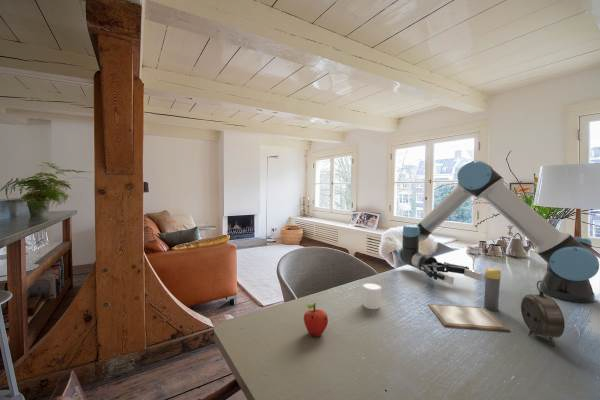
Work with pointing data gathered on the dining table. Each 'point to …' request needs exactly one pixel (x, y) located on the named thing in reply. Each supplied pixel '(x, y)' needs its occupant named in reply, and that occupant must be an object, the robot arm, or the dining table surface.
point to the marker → (492, 289)
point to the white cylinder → (371, 295)
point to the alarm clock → (542, 315)
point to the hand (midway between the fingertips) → (466, 279)
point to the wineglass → (474, 253)
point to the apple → (315, 321)
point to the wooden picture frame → (467, 317)
